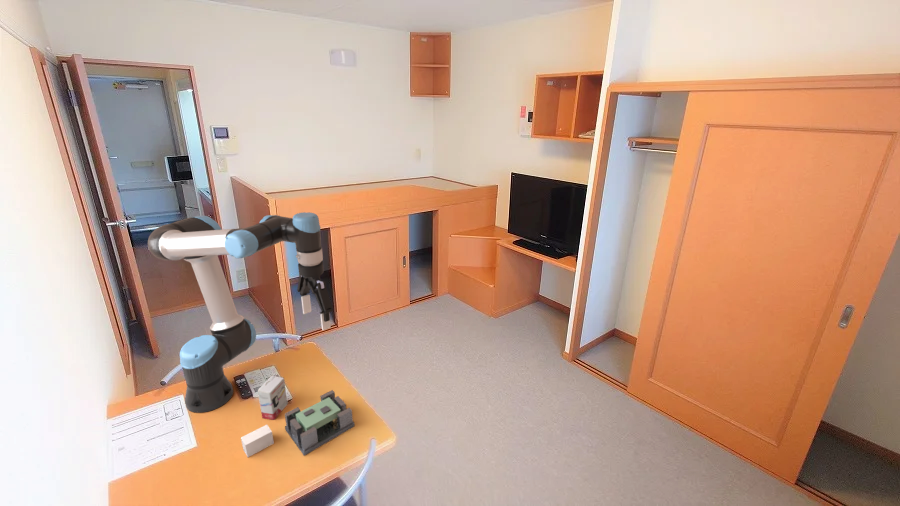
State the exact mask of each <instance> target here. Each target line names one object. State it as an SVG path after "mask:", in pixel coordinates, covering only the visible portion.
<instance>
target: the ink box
mask: <svg viewBox="0 0 900 506" xmlns="http://www.w3.org/2000/svg"><path fill="white" fill-rule="evenodd" d="M257 395H258V396H257V397H258V402H259V407H260V412H261V417H262V419H265V420H269V421H270V420H271V421H275V420H276V419H277V418H278V417H279V415H280V414H281V412H282V411H283V410H284V409H285V408H286V407H287V405H288V398H287V397H288V396H287V389H286V383H285V378H284V377H282V376H281V377H280V376H275V375H271V376H270V377H269V378H268V379H267V380H266V381H265V382H264V383H263V384H262V385H261V386H260V387H259V388H258V389H257Z"/></svg>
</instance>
